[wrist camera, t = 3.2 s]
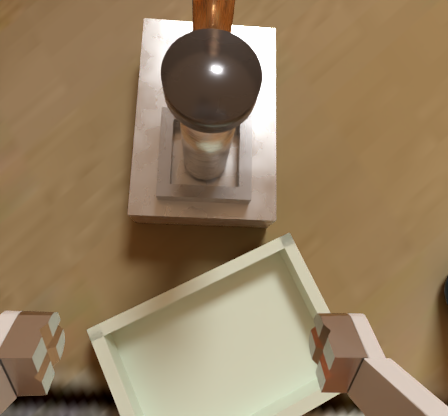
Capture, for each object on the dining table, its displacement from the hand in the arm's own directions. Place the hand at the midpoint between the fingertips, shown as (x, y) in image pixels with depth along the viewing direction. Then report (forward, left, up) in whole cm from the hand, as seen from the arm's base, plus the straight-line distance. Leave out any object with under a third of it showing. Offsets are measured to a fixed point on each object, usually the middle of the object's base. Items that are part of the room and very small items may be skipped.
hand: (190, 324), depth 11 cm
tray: (+1, -5, -20) cm, 21 cm away
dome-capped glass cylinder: (+6, +10, -16) cm, 20 cm away
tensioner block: (+8, +14, -20) cm, 26 cm away
